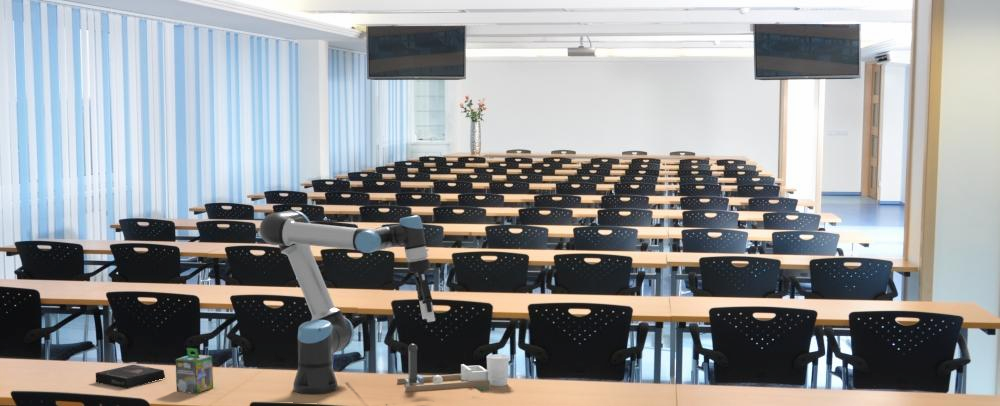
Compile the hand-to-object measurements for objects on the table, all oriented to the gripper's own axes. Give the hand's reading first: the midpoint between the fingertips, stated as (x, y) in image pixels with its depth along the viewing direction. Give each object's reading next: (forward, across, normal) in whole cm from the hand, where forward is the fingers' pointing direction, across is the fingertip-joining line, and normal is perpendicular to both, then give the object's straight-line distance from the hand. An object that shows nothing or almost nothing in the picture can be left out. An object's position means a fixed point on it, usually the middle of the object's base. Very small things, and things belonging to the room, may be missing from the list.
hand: (428, 320), depth 386 cm
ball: (+22, +3, 0) cm, 22 cm away
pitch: (+25, +4, -1) cm, 25 cm away
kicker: (+22, +2, +10) cm, 24 cm away
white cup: (+28, +6, -21) cm, 35 cm away
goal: (+26, +5, -12) cm, 30 cm away
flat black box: (+4, +34, +106) cm, 111 cm away
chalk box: (+9, +16, +83) cm, 85 cm away
